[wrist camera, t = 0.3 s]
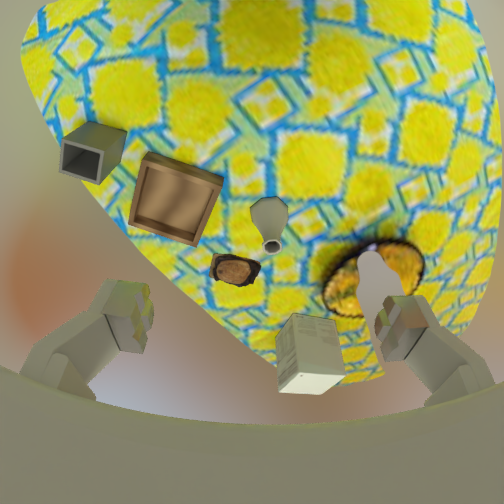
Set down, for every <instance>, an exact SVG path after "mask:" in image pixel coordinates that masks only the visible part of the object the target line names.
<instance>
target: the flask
mask: <svg viewBox="0 0 504 504" xmlns="http://www.w3.org/2000/svg"><path fill="white" fill-rule="evenodd" d="M250 212H251V218H252V222H253V223H254V224H255V226H256V227H257V229H258V230H259V232H260V233H261V235H262V237H263V240H264V242H263V243H262V246H263V251H264V252H265V253H267V254H268V255H274V254H277V253H279V252H280V251H282V243H281V242H280V236H281V234H282V232H283V229H284V227H285V226H286V224H287V222H288V220H289V218H288V207H287V206H286V205H285V204H284V203H283V202H282V201H281V200H280V199H279V198H278V197H272V198H262V199H260V200H259V201H258V202H257V203H255V204H254V205H253V206H252V207H250Z"/></svg>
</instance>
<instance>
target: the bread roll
mask: <svg viewBox="0 0 504 504" xmlns="http://www.w3.org/2000/svg"><path fill="white" fill-rule="evenodd" d="M260 269H261V266H260V262H258V261H255V260H252V259H248V258H243V257H239V256H236V255H235V256H234V255H230V254H228V255H226V254H217V253H215V254H213V259H212V263H211V267H210V272H209V277H211V278H215V280H216V281H218V280H222V281H224V282H226V283H229V284H233V285H236V286H238V287H242V286H247V285H249V284H253V283H254V280H255V278H256V277H257V276H258V273H259V271H260Z"/></svg>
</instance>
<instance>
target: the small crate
mask: <svg viewBox="0 0 504 504" xmlns="http://www.w3.org/2000/svg"><path fill="white" fill-rule="evenodd" d="M126 135H127V132H126V131H123V130H120V129H116V128H113V127H109V126H106V125H102V124H98V123H95V122H91V121H88V122H87V123H85V124H83V125H82V126H80V127H79V128H77V129H76V130H74V131H73V132H71V133H70V134H68V135H67V136H65V137H64V138H62V142H61V154H60V164H59V165H60V166H59V172H60V173H63V174H66V175H69V176H72V177H75V178H79V179H82V180H85V181H88V182H91V183H94V184H97V185H100V184H101V183H102V181H103V180H104V179H105V178H106V177H107V176H108V175H109V174H110V172H111V171H112V170H113V169H114V168H115V167H116V166H117V165H118V164H119V163H120V162H121V157H122V152H123V148H124V144H125V139H126Z"/></svg>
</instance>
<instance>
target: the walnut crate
mask: <svg viewBox="0 0 504 504" xmlns="http://www.w3.org/2000/svg"><path fill="white" fill-rule="evenodd" d="M223 181H224V177H221V176H218V175H216V174H213V173H210V172H208V171H205V170H202V169H199V168H196V167H194V166H191V165H188V164H185V163H182V162H179V161H176V160H174V159H171V158H168V157H165V156H162V155H159V154H156V153H153V152H150V151H149V152H148V153H147V154H146V155H145V157H144V158H143V159H142V162H141V166H140V170H139V174H138V178H137V183H136V187H135V192H134V196H133V201H132V206H131V210H130V216H129V221H128V224H129V225H131V226H134V227H137V228H140V229H143V230H146V231H149V232H152V233H155V234H158V235H161V236H164V237H166V238H169V239H172V240H175V241H178V242H181V243H184V244H187V245H190V246H193V247H197V245H198V242H199V240H200V238H201V235H202V233H203V230H204V228H205V226H206V223H207V221H208V219H209V216H210V214H211V212H212V209H213V207H214V205H215V202H216V200H217V198H218V196H219V193H220V191H221V189H222V186H223Z"/></svg>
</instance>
